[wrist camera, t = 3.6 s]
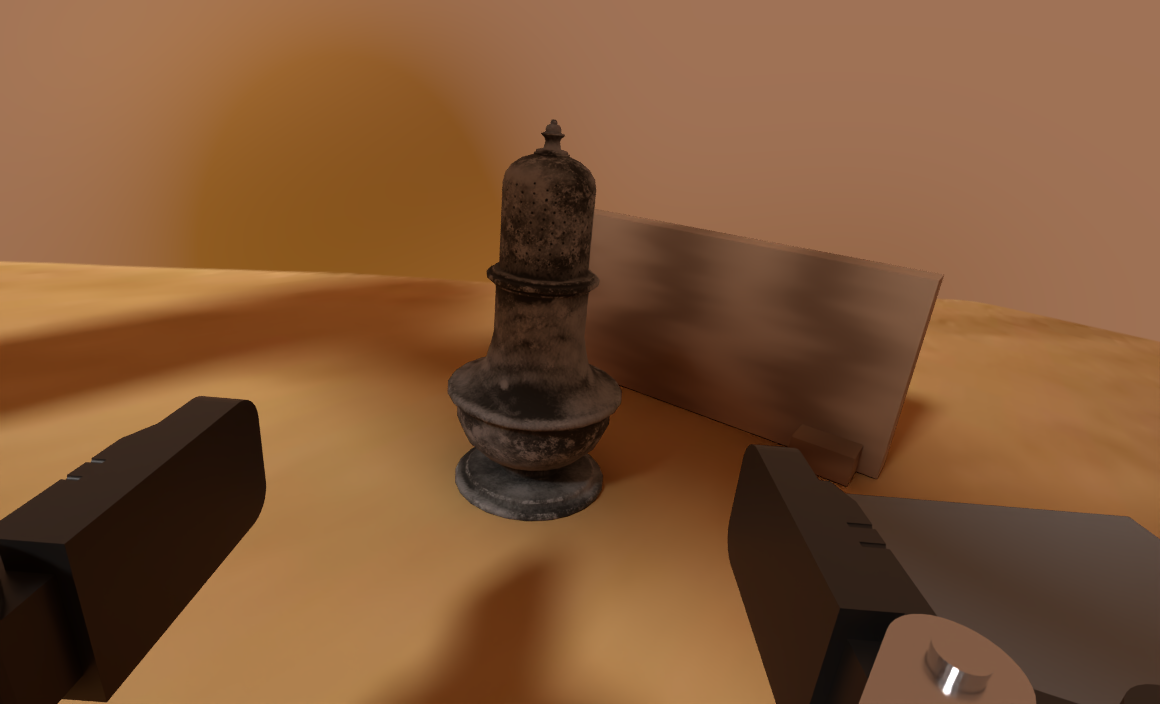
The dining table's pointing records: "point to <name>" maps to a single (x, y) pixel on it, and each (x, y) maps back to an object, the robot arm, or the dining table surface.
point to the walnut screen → (760, 335)
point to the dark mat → (1037, 587)
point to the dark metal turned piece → (537, 352)
